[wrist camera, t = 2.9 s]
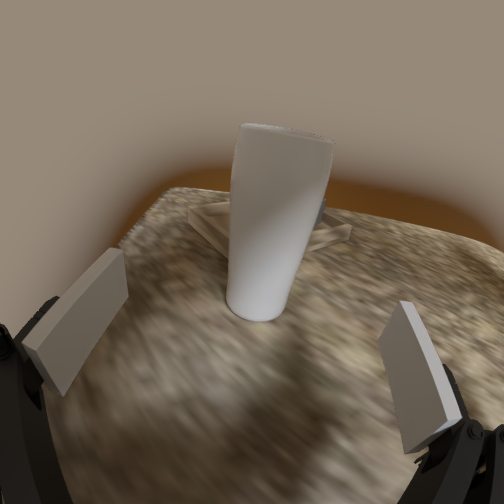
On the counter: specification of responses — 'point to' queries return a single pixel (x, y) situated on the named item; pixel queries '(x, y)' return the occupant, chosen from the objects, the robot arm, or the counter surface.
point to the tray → (217, 227)
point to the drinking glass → (272, 214)
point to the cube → (321, 212)
